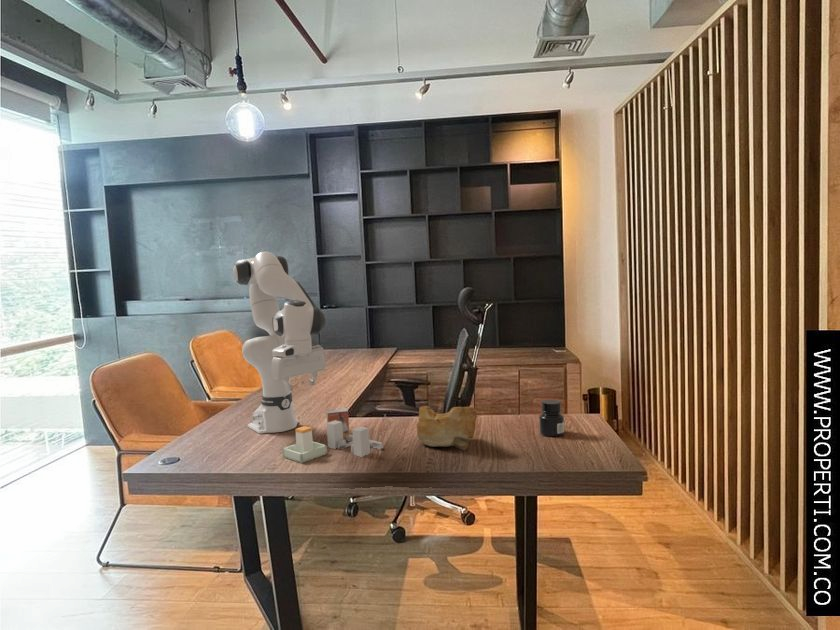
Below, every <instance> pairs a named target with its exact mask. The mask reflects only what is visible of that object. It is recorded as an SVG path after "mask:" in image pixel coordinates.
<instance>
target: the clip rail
mask: <svg viewBox="0 0 840 630" xmlns="http://www.w3.org/2000/svg"><path fill="white" fill-rule="evenodd" d="M346 440H347V441H348V442H347V441H346ZM369 440H370V448H372V447H373V448H372V449H376V448H377V449H376V450H382V448H383V449H384V446H383V445H384V443H383V442H380V441H377V440H374V439H370V438H369ZM345 447H346V448H348V447H350V454H353V455H354V450H353V434H350V433H349V434H348V435H346V438H343V439H342V440H340V441H338V448H337V450H339V449H340V450H343V449H345ZM342 448H343V449H342Z"/></svg>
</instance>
